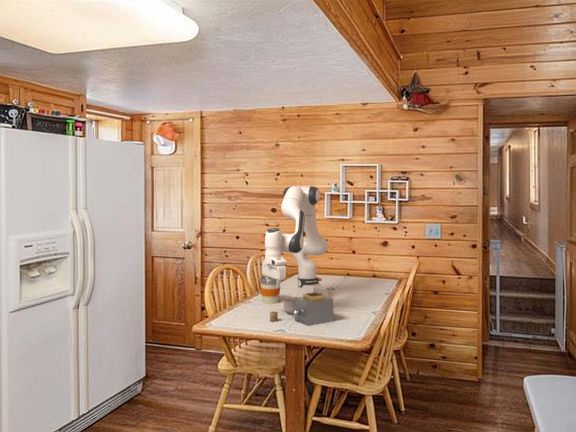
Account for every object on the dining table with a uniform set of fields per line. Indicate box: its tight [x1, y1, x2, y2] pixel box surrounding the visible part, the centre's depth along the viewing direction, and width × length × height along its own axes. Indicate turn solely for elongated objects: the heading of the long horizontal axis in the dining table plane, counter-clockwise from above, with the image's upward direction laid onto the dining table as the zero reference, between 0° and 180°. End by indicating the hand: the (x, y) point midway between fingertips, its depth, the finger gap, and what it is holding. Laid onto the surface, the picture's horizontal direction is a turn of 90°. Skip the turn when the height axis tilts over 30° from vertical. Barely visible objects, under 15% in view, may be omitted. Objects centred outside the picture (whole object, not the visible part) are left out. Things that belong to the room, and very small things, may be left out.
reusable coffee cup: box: [259, 275, 281, 305], centre depth 312 cm, size 13×13×15 cm
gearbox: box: [292, 292, 334, 327], centre depth 270 cm, size 19×12×14 cm, turn 120°
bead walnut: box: [269, 311, 279, 323], centre depth 272 cm, size 4×4×4 cm
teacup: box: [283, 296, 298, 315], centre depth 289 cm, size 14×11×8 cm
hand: (273, 285), depth 271 cm, fingers open, 8 cm apart
